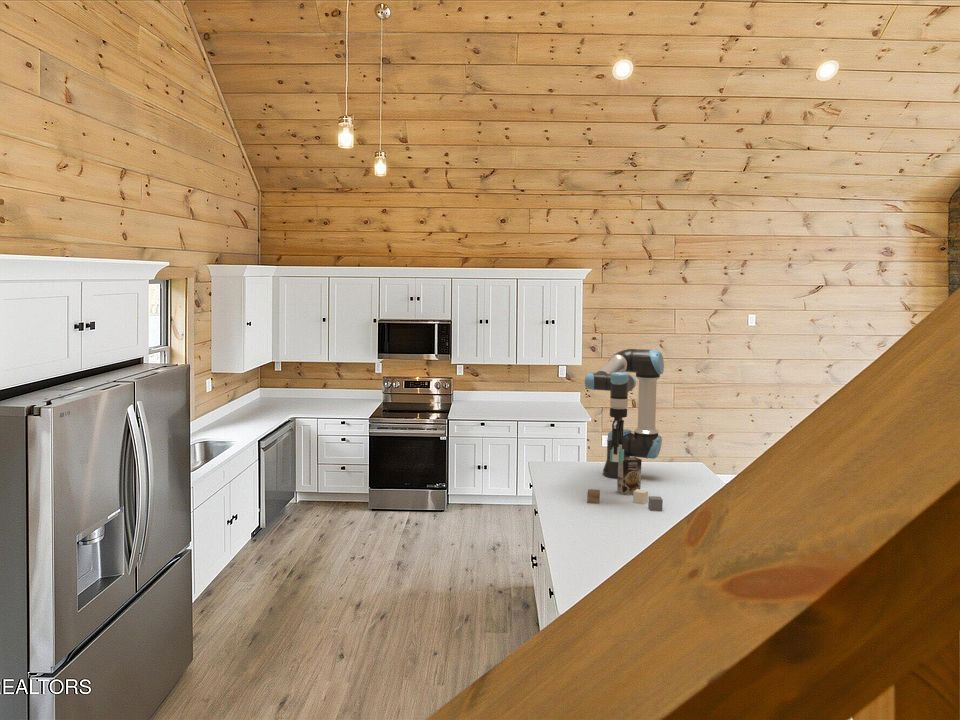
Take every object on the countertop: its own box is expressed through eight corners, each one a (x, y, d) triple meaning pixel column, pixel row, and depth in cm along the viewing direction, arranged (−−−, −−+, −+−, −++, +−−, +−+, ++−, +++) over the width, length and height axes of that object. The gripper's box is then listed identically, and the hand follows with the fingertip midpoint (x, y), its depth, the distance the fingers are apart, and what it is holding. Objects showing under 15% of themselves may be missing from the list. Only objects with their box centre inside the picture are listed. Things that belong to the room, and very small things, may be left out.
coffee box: (622, 494, 353) (624, 460, 352) (616, 491, 359) (617, 457, 358) (640, 493, 356) (642, 459, 354) (634, 490, 362) (635, 456, 360)
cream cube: (636, 500, 345) (637, 489, 345) (647, 501, 342) (648, 490, 342) (633, 502, 341) (633, 491, 340) (644, 504, 338) (644, 493, 338)
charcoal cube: (648, 507, 333) (648, 496, 332) (659, 507, 333) (660, 496, 332) (650, 510, 328) (650, 499, 327) (662, 511, 328) (662, 499, 327)
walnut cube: (588, 500, 343) (588, 489, 343) (599, 500, 342) (599, 489, 342) (587, 503, 339) (587, 491, 338) (598, 503, 337) (598, 492, 337)
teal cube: (612, 459, 342) (612, 448, 342) (623, 460, 341) (624, 449, 340) (609, 461, 338) (610, 450, 337) (621, 462, 336) (621, 451, 336)
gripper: (614, 404, 347) (613, 455, 349) (605, 409, 330) (603, 463, 332) (631, 405, 344) (629, 457, 346) (622, 411, 327) (621, 465, 329)
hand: (616, 460), depth 339 cm, fingers closed on teal cube, 5 cm apart
